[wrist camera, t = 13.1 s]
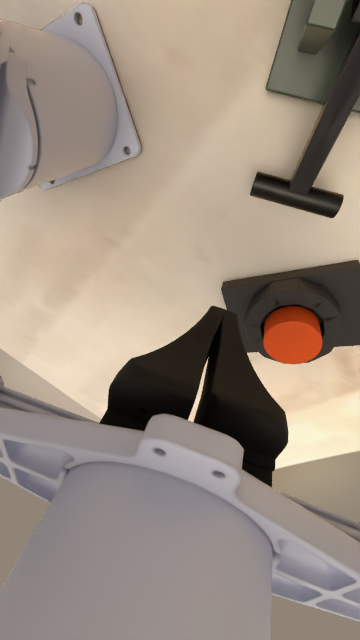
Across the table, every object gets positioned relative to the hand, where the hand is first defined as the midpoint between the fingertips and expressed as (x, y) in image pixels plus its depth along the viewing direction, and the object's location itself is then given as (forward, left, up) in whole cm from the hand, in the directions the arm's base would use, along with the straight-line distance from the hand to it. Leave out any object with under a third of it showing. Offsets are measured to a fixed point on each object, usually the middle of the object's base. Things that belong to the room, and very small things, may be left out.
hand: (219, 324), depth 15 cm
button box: (+3, -6, -10) cm, 13 cm away
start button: (+3, -6, -8) cm, 10 cm away
